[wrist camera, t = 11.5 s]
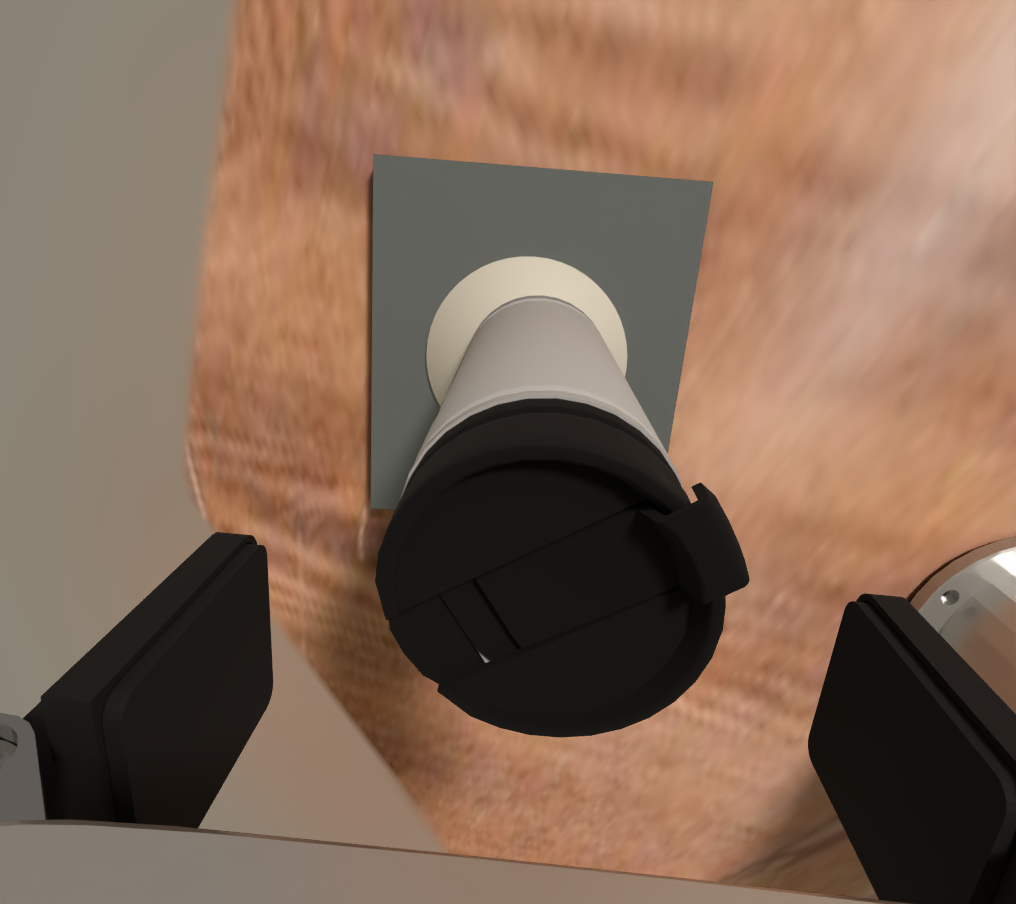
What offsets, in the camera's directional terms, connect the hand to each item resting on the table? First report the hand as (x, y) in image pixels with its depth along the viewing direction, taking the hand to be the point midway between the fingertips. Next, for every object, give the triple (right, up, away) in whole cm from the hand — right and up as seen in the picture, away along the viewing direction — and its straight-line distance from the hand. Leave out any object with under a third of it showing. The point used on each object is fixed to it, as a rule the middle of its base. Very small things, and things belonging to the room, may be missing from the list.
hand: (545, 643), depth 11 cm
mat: (0, +8, +20) cm, 22 cm away
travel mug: (+1, +7, +19) cm, 21 cm away
